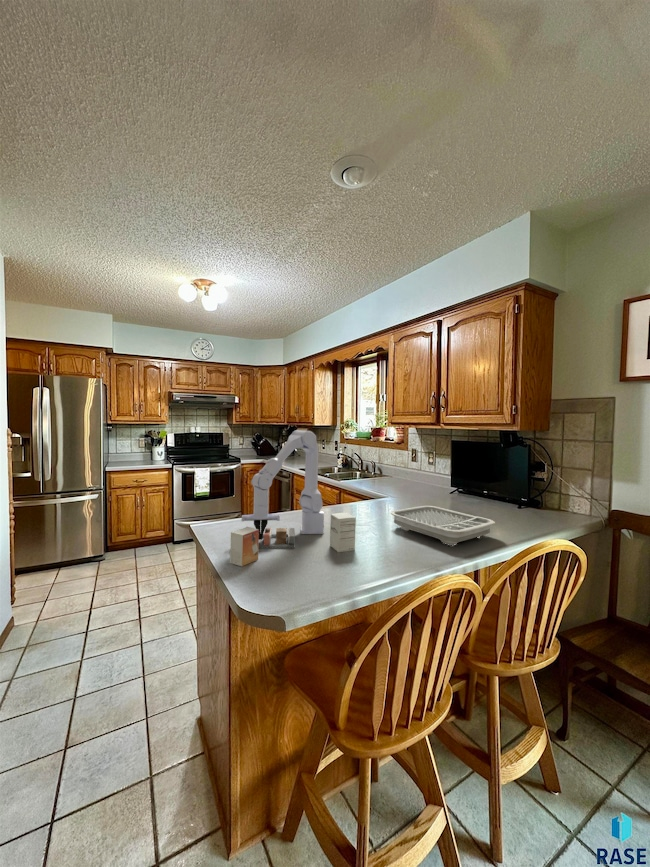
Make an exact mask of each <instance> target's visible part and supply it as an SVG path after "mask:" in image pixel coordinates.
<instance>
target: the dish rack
mask: <svg viewBox="0 0 650 867" xmlns="http://www.w3.org/2000/svg"><path fill="white" fill-rule="evenodd" d="M390 515H391V516H393V523H394V524H396V525H397V526H398V527H400V529H401V530H402V531H406V530H407V531H406V532H409V531H410V530H411V531H414V532H417V533H419V534H423V535H426V536H429V537H433V538H435V539H438V540H440V541H441V543H442V542H443V543H446V544H449V545H454V544H457V543H460V542H463V541H468V540H471V539H475V538H476V537H479V536H481V537H482V536H484V535H488V534H490V533H491V526H494V525H495V524H496V521H494V520H493V519H490V518H485V517H482V516H476V515H472V514H468V513H464V512H461V511H460V512H459V511H456V510H451V509H447V508H443V507H439V506H434V505H420V506H413V507H409V508H408V507H407V508H402V509H401V508H400V509H396V510H391V512H390ZM443 543H442V544H443ZM457 545H458V544H457Z"/></svg>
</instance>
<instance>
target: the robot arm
mask: <svg viewBox="0 0 650 867" xmlns="http://www.w3.org/2000/svg"><path fill="white" fill-rule="evenodd" d="M319 448H320V447H319V445H318V441H317V435H316V434H315V433H314V432H313V431H312V430H300V429H296V430H294V431H292V433H291V434H290V435H289V436H288V438H287V441H286V442H285V444H284V445H283V446H282V448H281V449H280V450H279V452H278V453H277V455H276V456H275V457H271V458H270V459H267V461H266V463H265V465H264V466H263V467H262V468H261V469H259V470H258V472H257V473H255V474H254V475H253V477H252V479H251V480H250V484H251V486H253V487H252V488H253V513H252V514H242V515H241V522H246V521H247V522H253V526H254V528H255V529H259V541H262V540H263V538H262V537H263V534H265V529H266V528H267V525H268V521H277V522H279V521H281V520H280V518H281V516H280V514H273V513H272V514H271V513H269V503H270V501H269V499H270V498H269V496H270V491H269V490H270V487H271V486H272V485H273V480H274V478H275V476H277V474H278V473H279V472H280V470H281V469H282V468H283V462H284V461H285V460H286V459H287V458H288V457H289V456H290V455H291V454H292V453H293V451H294V450H296V449H302V451H304V452H305V461H304V462H305V465H304V467H305V468H304V488H303V489H302V491H301V492H300V493H301V494H300V497H299V501H298V502H299V506H300V507H301V527H300V535H301V534H302V535H323V534H324V529H325V521H324V520H325V515H324V514H325V513H324V511H323V510H322V509H323V506H324V505H323V504H324V502H323V498H322V493H321V492H320V490H319V489H318V483H319V482H318V480H319V479H318V478H319V477H318V476H319V454H320V452H319V450H320V449H319Z"/></svg>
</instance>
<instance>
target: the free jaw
mask: <svg viewBox="0 0 650 867" xmlns="http://www.w3.org/2000/svg"><path fill="white" fill-rule="evenodd" d="M272 532H273V530H272V528H271V527H266V528H265V530H264V533H263V534H264V538H263V545H272V544H271V542H272V538H271V537H272V534H273V533H272Z"/></svg>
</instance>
